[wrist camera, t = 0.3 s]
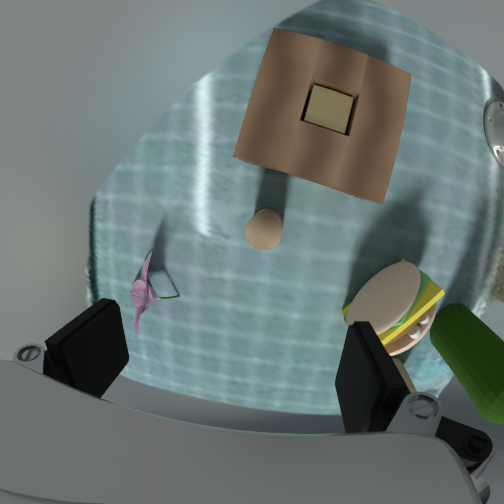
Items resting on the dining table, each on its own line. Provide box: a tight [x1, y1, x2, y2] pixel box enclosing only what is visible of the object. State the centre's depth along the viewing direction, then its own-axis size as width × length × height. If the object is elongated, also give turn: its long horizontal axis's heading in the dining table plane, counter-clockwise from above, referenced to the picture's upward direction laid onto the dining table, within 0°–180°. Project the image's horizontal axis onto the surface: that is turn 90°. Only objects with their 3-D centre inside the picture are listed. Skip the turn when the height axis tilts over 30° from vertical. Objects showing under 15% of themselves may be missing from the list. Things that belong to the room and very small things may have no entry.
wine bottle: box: [430, 304, 504, 424], centre depth 21 cm, size 9×9×32 cm
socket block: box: [233, 28, 411, 204], centre depth 28 cm, size 16×16×9 cm
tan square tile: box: [304, 85, 353, 134], centre depth 25 cm, size 4×4×1 cm
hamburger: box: [342, 259, 445, 356], centre depth 31 cm, size 12×8×12 cm
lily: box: [130, 252, 180, 340], centre depth 37 cm, size 12×12×10 cm
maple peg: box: [246, 208, 283, 250], centre depth 33 cm, size 4×4×7 cm
